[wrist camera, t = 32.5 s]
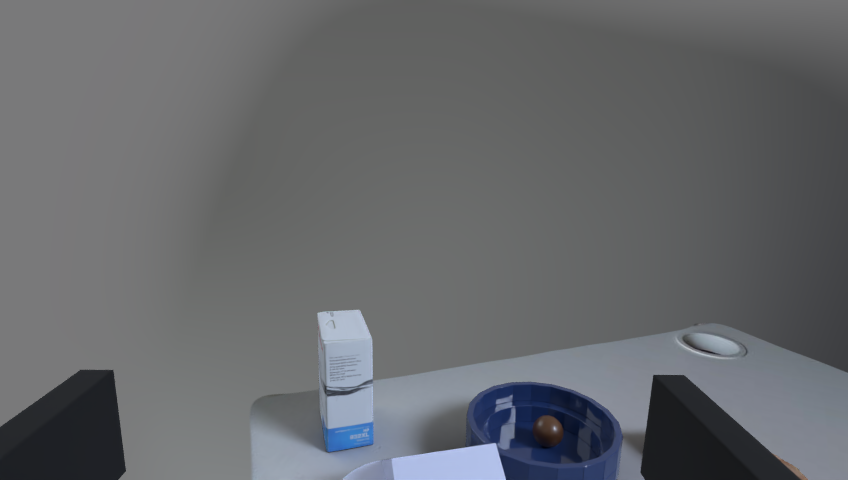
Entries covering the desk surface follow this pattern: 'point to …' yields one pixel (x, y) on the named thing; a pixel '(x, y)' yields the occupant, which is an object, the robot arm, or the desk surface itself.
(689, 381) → the robot arm
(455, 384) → the desk surface
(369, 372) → the ink box
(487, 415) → the bowl
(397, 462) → the wedge on round base
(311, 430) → the desk surface
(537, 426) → the ball
